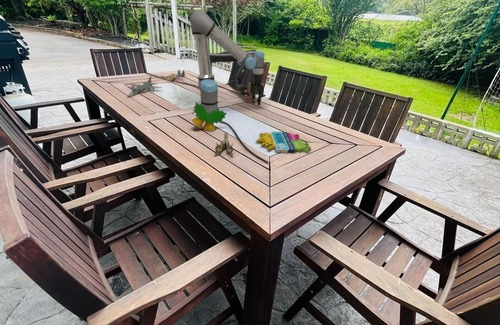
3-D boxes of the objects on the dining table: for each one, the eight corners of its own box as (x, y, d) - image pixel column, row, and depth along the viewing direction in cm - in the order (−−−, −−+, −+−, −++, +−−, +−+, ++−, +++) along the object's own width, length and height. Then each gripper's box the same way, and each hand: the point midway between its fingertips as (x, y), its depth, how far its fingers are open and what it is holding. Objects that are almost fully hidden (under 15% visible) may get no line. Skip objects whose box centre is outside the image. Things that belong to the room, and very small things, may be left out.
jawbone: (234, 135, 144) (233, 125, 135) (233, 160, 138) (232, 151, 129) (217, 135, 144) (216, 125, 135) (216, 160, 138) (214, 150, 129)
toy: (193, 71, 287) (180, 75, 262) (193, 77, 291) (181, 82, 265) (170, 68, 292) (155, 72, 266) (170, 75, 296) (156, 79, 270)
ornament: (218, 133, 171) (224, 110, 169) (221, 134, 163) (227, 111, 161) (186, 125, 162) (192, 101, 160) (189, 126, 155) (195, 101, 153)
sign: (313, 150, 142) (258, 149, 139) (312, 153, 143) (258, 152, 140) (301, 132, 164) (254, 130, 161) (301, 134, 165) (254, 133, 162)
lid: (261, 101, 205) (261, 98, 204) (256, 102, 201) (256, 99, 200) (256, 99, 208) (256, 97, 207) (251, 100, 205) (251, 98, 204)
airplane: (122, 86, 237) (119, 75, 232) (157, 84, 250) (156, 74, 245) (126, 99, 209) (123, 86, 204) (166, 96, 222) (165, 84, 217)
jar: (246, 101, 223) (247, 82, 216) (251, 100, 225) (252, 82, 217) (247, 102, 220) (248, 83, 212) (252, 102, 221) (254, 83, 213)
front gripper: (270, 75, 191) (267, 106, 202) (253, 71, 203) (252, 100, 214) (262, 76, 186) (260, 108, 198) (246, 72, 198) (245, 102, 210)
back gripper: (235, 85, 225) (244, 90, 212) (249, 84, 231) (259, 89, 218) (234, 94, 228) (243, 99, 216) (249, 93, 235) (258, 98, 222)
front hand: (256, 104), depth 206 cm, fingers closed on lid, 5 cm apart
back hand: (251, 94), depth 217 cm, fingers closed on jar, 4 cm apart
